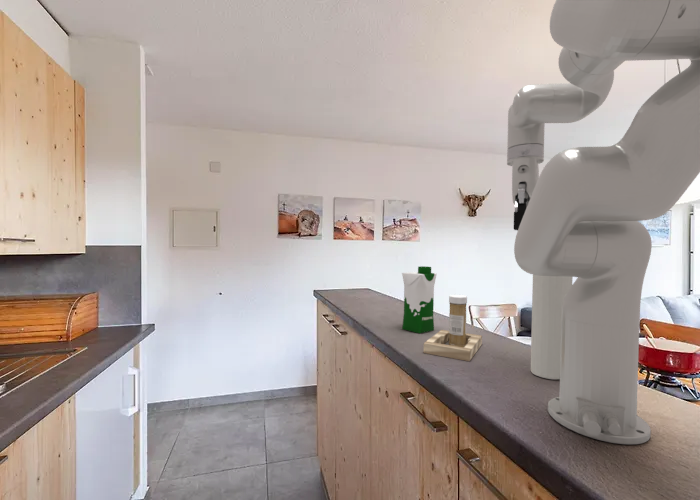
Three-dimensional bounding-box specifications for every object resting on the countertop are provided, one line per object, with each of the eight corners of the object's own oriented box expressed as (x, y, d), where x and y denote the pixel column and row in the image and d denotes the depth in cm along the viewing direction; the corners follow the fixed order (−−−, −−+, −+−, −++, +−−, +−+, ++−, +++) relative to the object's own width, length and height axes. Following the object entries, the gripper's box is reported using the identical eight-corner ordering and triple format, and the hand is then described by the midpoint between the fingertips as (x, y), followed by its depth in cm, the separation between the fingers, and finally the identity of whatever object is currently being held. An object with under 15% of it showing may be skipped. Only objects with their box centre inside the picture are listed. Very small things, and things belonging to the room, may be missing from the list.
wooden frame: (469, 361, 78) (469, 351, 78) (423, 352, 84) (423, 343, 84) (481, 344, 92) (482, 335, 92) (441, 338, 97) (441, 329, 97)
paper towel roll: (529, 376, 69) (532, 272, 69) (531, 367, 75) (533, 270, 74) (571, 384, 66) (574, 274, 65) (570, 374, 71) (572, 272, 71)
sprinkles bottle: (469, 345, 90) (470, 295, 90) (461, 349, 87) (461, 297, 87) (453, 342, 93) (454, 293, 93) (445, 345, 90) (445, 295, 90)
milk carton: (420, 334, 100) (421, 267, 100) (397, 328, 107) (398, 265, 107) (438, 330, 106) (439, 266, 106) (415, 324, 113) (416, 265, 113)
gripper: (543, 144, 68) (541, 229, 69) (544, 162, 83) (542, 232, 83) (502, 149, 72) (500, 229, 72) (510, 166, 87) (509, 232, 87)
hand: (523, 230), depth 78 cm, fingers open, 9 cm apart
